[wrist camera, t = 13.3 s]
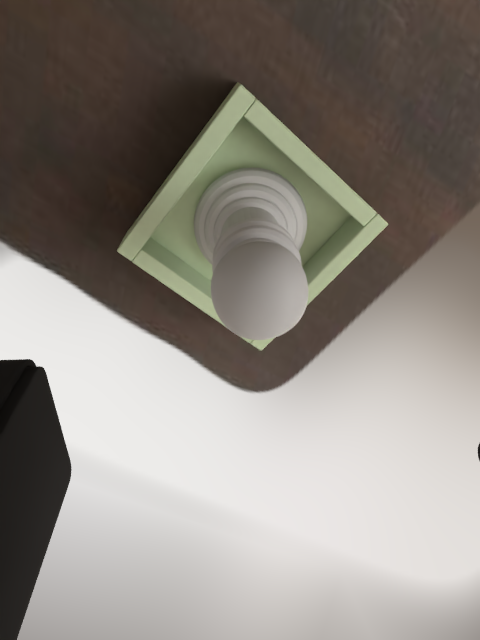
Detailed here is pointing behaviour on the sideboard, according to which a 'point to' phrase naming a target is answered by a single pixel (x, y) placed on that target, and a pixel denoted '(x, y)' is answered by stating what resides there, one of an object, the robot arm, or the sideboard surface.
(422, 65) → the sideboard surface
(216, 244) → the chess piece
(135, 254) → the socket pad
